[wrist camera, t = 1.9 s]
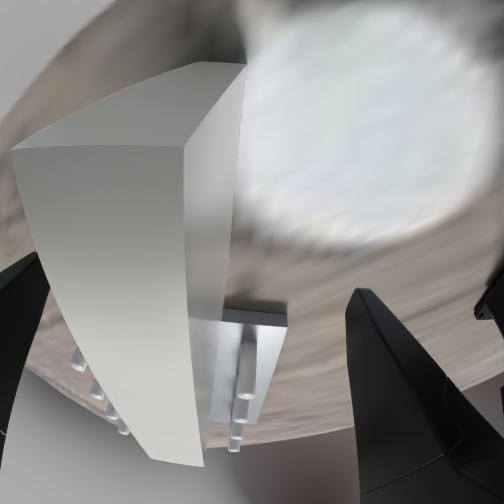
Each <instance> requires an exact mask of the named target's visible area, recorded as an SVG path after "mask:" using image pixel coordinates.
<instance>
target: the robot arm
mask: <svg viewBox="0 0 504 504" xmlns="http://www.w3.org/2000/svg"><path fill="white" fill-rule="evenodd" d="M49 290H50V284H49V282H48V280H47V277H46V274H45V272H44V269H43V267H42V264H41V261H40V259H39V256H38V253H37V252H32V253H30V254H29V255H27V256H25V257H24V258H22V259H21V260H19V261H17V262H16V263H14V264H13V265H11V266H9V267H8V268H6V269H5V270H3V271H2V272H0V468H1V461H2V455H3V449H4V443H5V438H6V433H7V428H8V423H9V419H10V415H11V411H12V406H13V403H14V399H15V395H16V392H17V388H18V385H19V381H20V378H21V375H22V371H23V368H24V365H25V362H26V359H27V356H28V353H29V350H30V347H31V345H32V342H33V339H34V336H35V334H36V331H37V328H38V326H39V323H40V320H41V316H42V313H43V310H44V306H45V303H46V300H47V297H48V294H49ZM474 316H475V318H476V319H477V320H489V319H494V321H495V323H496V325H497V327H498V329H499V331H500V333H501V335H502V337H503V339H504V268H503V269H502V271H501V273H500V274H499V276H498V277H497V279H496V281H495V282H494V284H493V285H492V287H491V288H490V290H489V291H488V293H487V294H486V296H485V297H484V299H483V300H482V302H481V303H480V304H479V306H478V307H477V309H476V310H475V312H474ZM345 321H346V346H347V366H348V374H349V382H350V390H351V398H352V406H353V415H354V424H355V434H356V444H357V457H358V469H359V485H360V494H361V495H360V504H504V438H503V437H502V436H500V434H499V433H498V432H497V431H496V430H495V429H494V428H493V427H492V426H491V425H490V423H489V422H488V421H487V420H486V419H485V418H484V417H483V416H482V415H481V414H480V413H479V412H478V411H477V410H476V408H475V407H474V406H473V405H472V404H471V403H470V402H469V401H468V400H467V399H466V397H465V396H464V395H463V394H462V393H461V392H460V390H459V389H458V388H457V387H456V386H455V384H454V383H453V382H452V381H451V380H450V378H449V377H446V374H445V373H444V371H443V370H442V369H441V368H440V367H439V365H438V364H437V363H436V362H435V361H434V359H433V358H432V357H431V356H430V355H429V354H428V352H427V351H426V350H425V349H424V348H423V347H422V346H421V344H420V343H419V342H418V341H417V340H416V339H415V338H414V336H413V335H412V334H411V333H410V332H409V331H408V330H407V328H406V327H405V326H404V325H403V324H402V323H401V322H400V321H399V320H398V318H397V317H396V316H395V315H394V314H393V313H392V312H391V311H390V310H389V309H388V307H387V306H386V305H385V304H384V303H383V302H382V301H381V300H380V299H379V298H378V297H377V295H376V294H375V293H374V292H373V291H372V290H371V289H368V288H356V289H355V290H354V292H353V294H352V296H351V299H350V301H349V303H348V305H347V308H346V312H345ZM501 397H502V405H503V413H504V385H503V387H501Z"/></svg>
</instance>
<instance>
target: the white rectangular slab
mask: <svg viewBox="0 0 504 504" xmlns="http://www.w3.org/2000/svg"><path fill="white" fill-rule="evenodd" d="M246 71H247V64H239V63H225V62H204V61H199V62H195V63H192V64H189V65H186V66H183V67H180V68H177V69H174V70H171V71H168V72H165V73H162V74H159V75H156V76H154V77H151V78H148V79H146V80H143V81H141V82H138V83H135V84H133V85H131V86H128V87H126V88H123V89H121V90H119V91H116V92H114V93H112V94H110V95H107V96H105V97H103V98H101V99H99V100H96V101H94V102H92V103H90V104H88V105H86V106H84V107H82V108H80V109H78V110H76V111H74V112H72V113H70V114H68V115H67V116H65V117H63V118H61V119H59V120H57V121H56V122H54V123H52V124H50V125H49V126H47V127H45V128H43V129H42V130H40V131H38V132H37V133H35V134H33V135H32V136H30V137H28V138H27V139H25V140H24V141H22V142H21V143H19V144H17V145H16V146H14V147H13V148H11V149H10V153H11V158H12V163H13V168H14V173H15V177H16V182H17V186H18V190H19V194H20V198H21V201H22V205H23V209H24V212H25V216H26V219H27V223H28V226H29V229H30V232H31V235H32V238H33V241H34V244H35V247H36V250H37V253H38V256H39V259H40V261H41V264H42V267H43V269H44V272H45V274H46V277H47V280H48V282H49V284H50V287H51V289H52V292H53V294H54V296H55V299H56V301H57V303H58V306H59V308H60V310H61V312H62V314H63V316H64V319H65V321H66V323H67V325H68V327H69V329H70V331H71V333H72V335H73V337H74V339H75V341H76V343H77V345H78V347H79V349H80V351H81V352H82V354H83V356H84V358H85V360H86V362H87V363H88V365H89V367H90V369H91V371H92V372H93V374H94V376H95V377H96V379H97V381H98V382H99V384H100V386H101V387H102V389H103V391H104V392H105V394H106V396H107V397H108V399H109V400H110V402H111V403H112V405H113V406H114V408H115V409H116V411H117V412H118V414H119V415H120V417H121V418H122V420H123V421H124V423H125V424H126V426H127V427H128V428H129V430H130V431H131V433H132V434H133V435H134V437H135V438H136V439H137V441H138V442H139V444H140V445H141V446H142V448H143V449H144V450H145V451H146V453H147V454H148V455H149V457H150V458H151V459H156V460H162V461H167V462H172V463H178V464H185V465H192V466H199V467H204V465H205V455H206V446H207V437H208V428H209V419H210V410H211V401H212V393H213V384H214V376H215V368H216V359H217V351H218V343H219V335H220V327H221V320H222V312H223V304H224V297H225V289H226V282H227V275H228V266H229V253H230V240H231V228H232V215H233V204H234V192H235V181H236V170H237V159H238V148H239V138H240V128H241V118H242V108H243V99H244V89H245V80H246Z"/></svg>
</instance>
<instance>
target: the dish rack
mask: <svg viewBox="0 0 504 504" xmlns="http://www.w3.org/2000/svg"><path fill="white" fill-rule="evenodd" d="M287 328H288V324H287V314H278V313H266V312H255V311H245V310H234V309H225V308H223V312H222V320H221V327H220V335H219V343H218V351H217V359H216V368H215V376H214V384H213V393H212V401H211V410H210V419H209V421H216V422H226V423H230V432H229V446H228V450H229V451H232V452H238V451H240V440H241V439H243V438H244V424H251V425H256V422H257V419H258V416H259V413H260V411H261V408H262V405H263V402H264V399H265V396H266V393H267V390H268V387H269V384H270V381H271V378H272V375H273V372H274V369H275V366H276V363H277V360H278V357H279V354H280V350H281V347H282V344H283V341H284V338H285V334H286V331H287ZM70 365H71V366H72V367H73V368H74V369H76V370H78V371H81V372H84V371H85V368H86V366H87V362H86V360H85V358H84V356H83V354H82V352H81V351H80V349H79V347H78V345H77V347H76V350H75V352H74V354H73V357H72V359H71V362H70ZM104 393H105V392H104V391H103V389H102V387H101V386H100V384H99V382H98V381H97V379H96V377H95V379H94V382H93V385H92V388H91V391H90V395H91V396H92V397H94V398H96V399H99V400H102V399H103V397H104ZM105 416H106V417H108V418H110V419H113V420H117V417H118V412H117V411H116V409H115V408H114V406H113V405H112V403H111V402H110V400H109V403H108V407H107V411H106V414H105ZM118 432H119V433H121V434H124V435H128V434H129V428H128V427H127V426H126V424H125V423H124V421H123V420H122V418H121V420H120V424H119V428H118Z"/></svg>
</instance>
